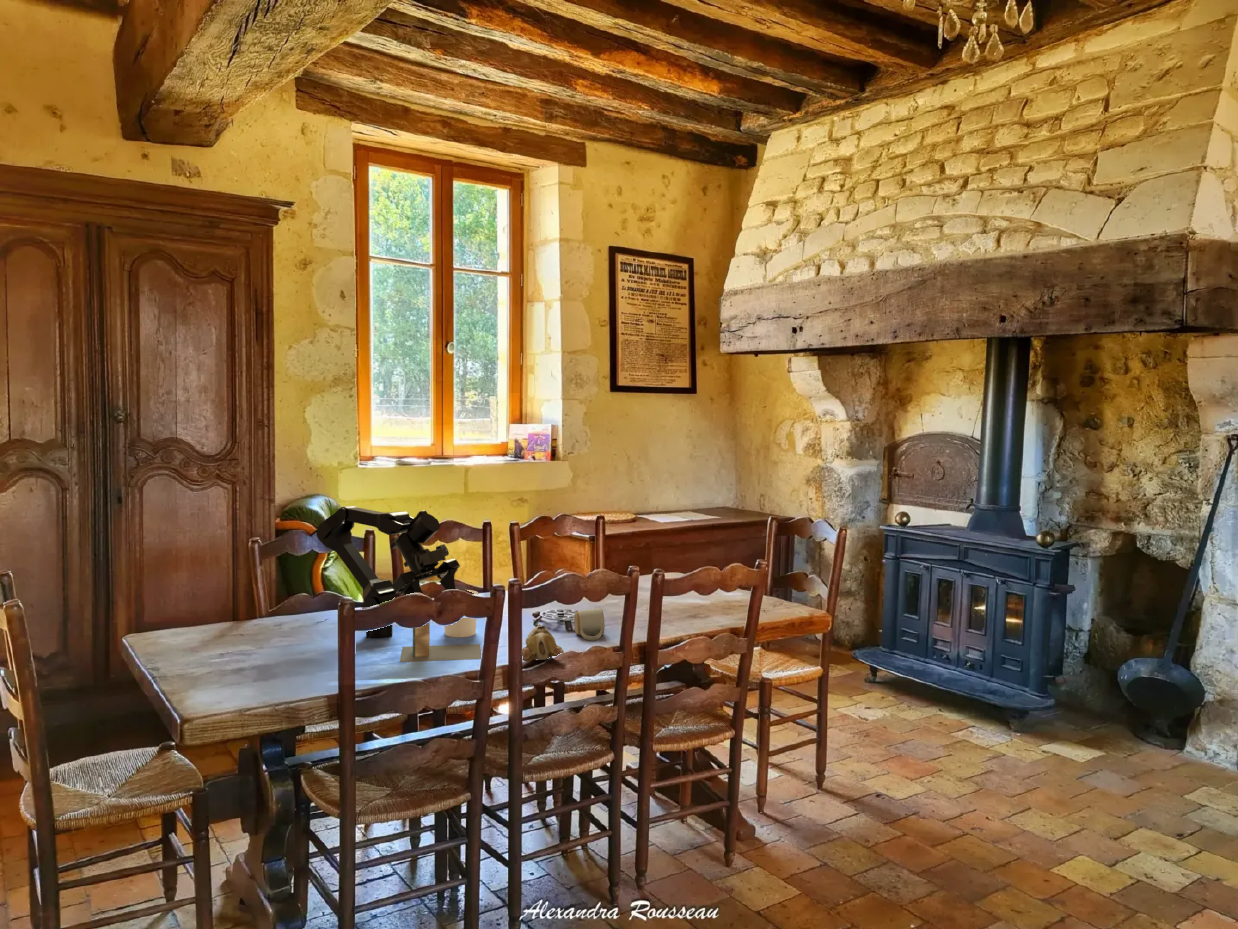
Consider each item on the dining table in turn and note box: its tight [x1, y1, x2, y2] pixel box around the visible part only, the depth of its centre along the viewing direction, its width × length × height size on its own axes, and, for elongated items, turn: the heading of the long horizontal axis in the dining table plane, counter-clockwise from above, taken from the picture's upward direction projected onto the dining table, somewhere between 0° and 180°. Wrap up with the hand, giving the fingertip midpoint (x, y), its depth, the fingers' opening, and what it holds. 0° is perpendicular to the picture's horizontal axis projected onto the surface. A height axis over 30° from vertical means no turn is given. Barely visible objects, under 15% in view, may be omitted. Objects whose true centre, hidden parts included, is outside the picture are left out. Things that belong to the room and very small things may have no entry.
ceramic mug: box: [573, 607, 606, 641], centre depth 250 cm, size 10×8×7 cm
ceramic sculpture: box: [521, 623, 565, 663], centre depth 227 cm, size 11×9×15 cm
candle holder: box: [443, 589, 479, 638], centre depth 248 cm, size 10×10×12 cm
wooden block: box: [412, 621, 431, 657], centre depth 227 cm, size 4×6×10 cm, turn 11°
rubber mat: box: [399, 643, 482, 663], centre depth 229 cm, size 20×14×1 cm
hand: (442, 602), depth 231 cm, fingers open, 9 cm apart
